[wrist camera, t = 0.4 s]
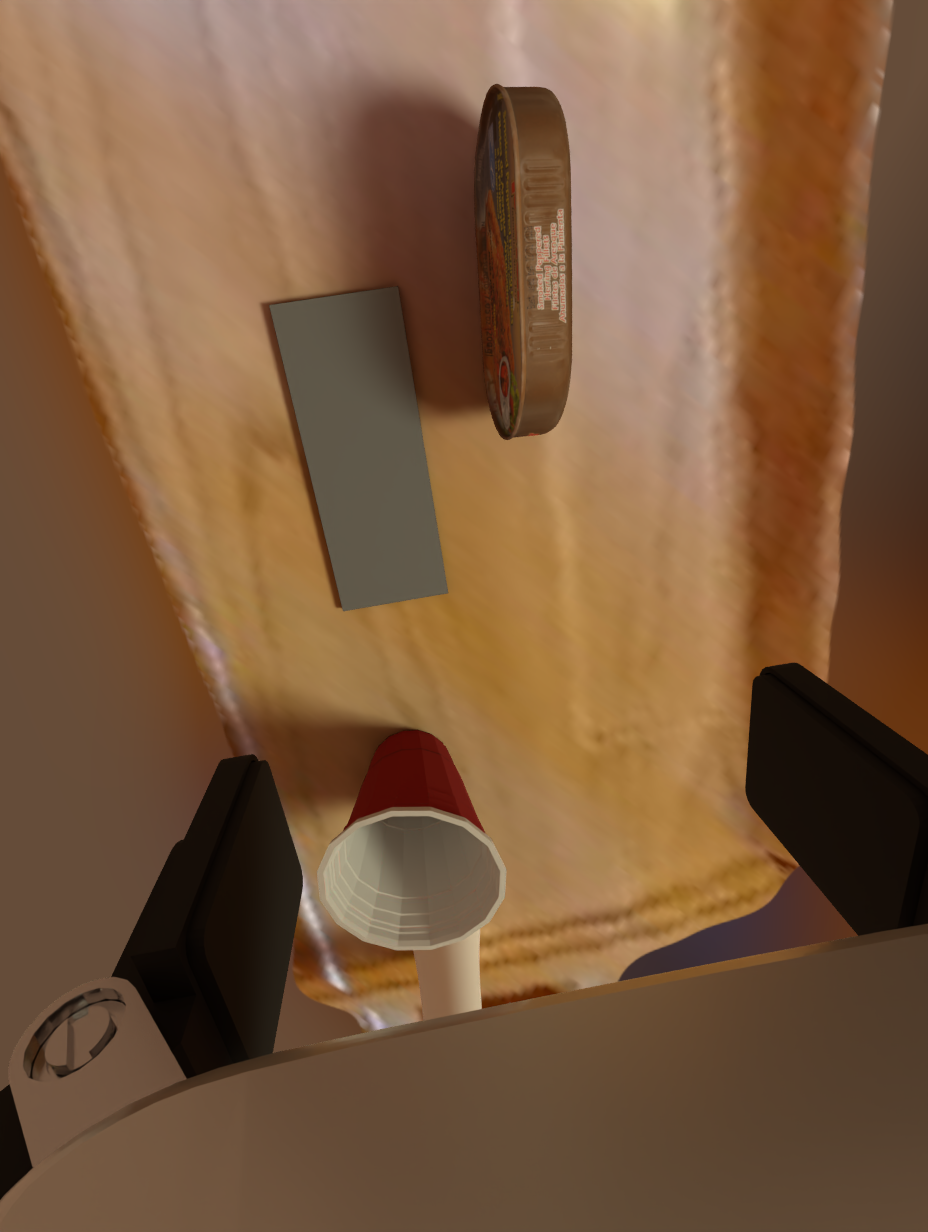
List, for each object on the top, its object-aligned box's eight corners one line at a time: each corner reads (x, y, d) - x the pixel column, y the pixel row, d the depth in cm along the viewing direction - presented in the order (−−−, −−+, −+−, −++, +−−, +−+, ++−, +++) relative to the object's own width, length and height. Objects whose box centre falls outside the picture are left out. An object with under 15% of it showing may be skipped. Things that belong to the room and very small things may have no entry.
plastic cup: (317, 717, 42) (289, 839, 31) (465, 685, 42) (490, 794, 31) (355, 832, 46) (343, 976, 35) (490, 803, 46) (519, 936, 35)
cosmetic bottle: (454, 894, 50) (495, 1250, 29) (492, 933, 52) (555, 1290, 32) (396, 928, 50) (397, 1298, 30) (436, 965, 53) (462, 1334, 32)
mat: (270, 306, 32) (269, 305, 32) (397, 287, 32) (398, 286, 32) (343, 608, 39) (343, 611, 39) (447, 590, 39) (448, 593, 39)
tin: (469, 127, 30) (495, 42, 22) (530, 125, 30) (576, 39, 23) (486, 433, 36) (511, 449, 28) (537, 428, 36) (575, 443, 28)
